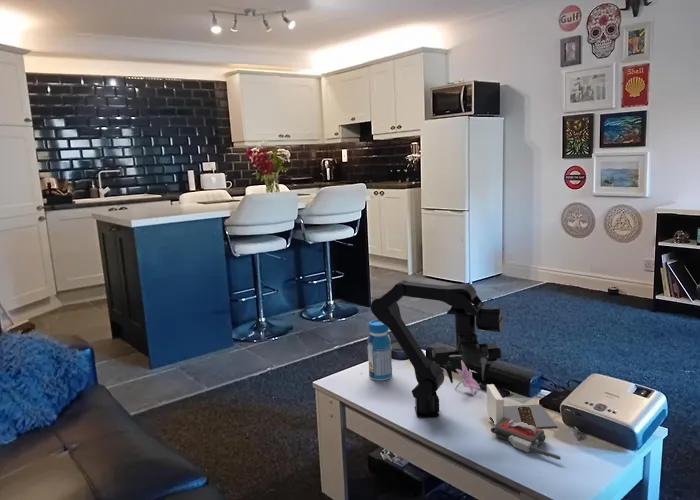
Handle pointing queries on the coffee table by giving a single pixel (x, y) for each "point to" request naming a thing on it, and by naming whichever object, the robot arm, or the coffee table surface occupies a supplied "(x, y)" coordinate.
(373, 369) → the beverage bottle
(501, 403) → the tile
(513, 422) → the walkie-talkie
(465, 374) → the lily
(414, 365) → the robot arm
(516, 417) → the mat
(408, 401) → the coffee table surface
